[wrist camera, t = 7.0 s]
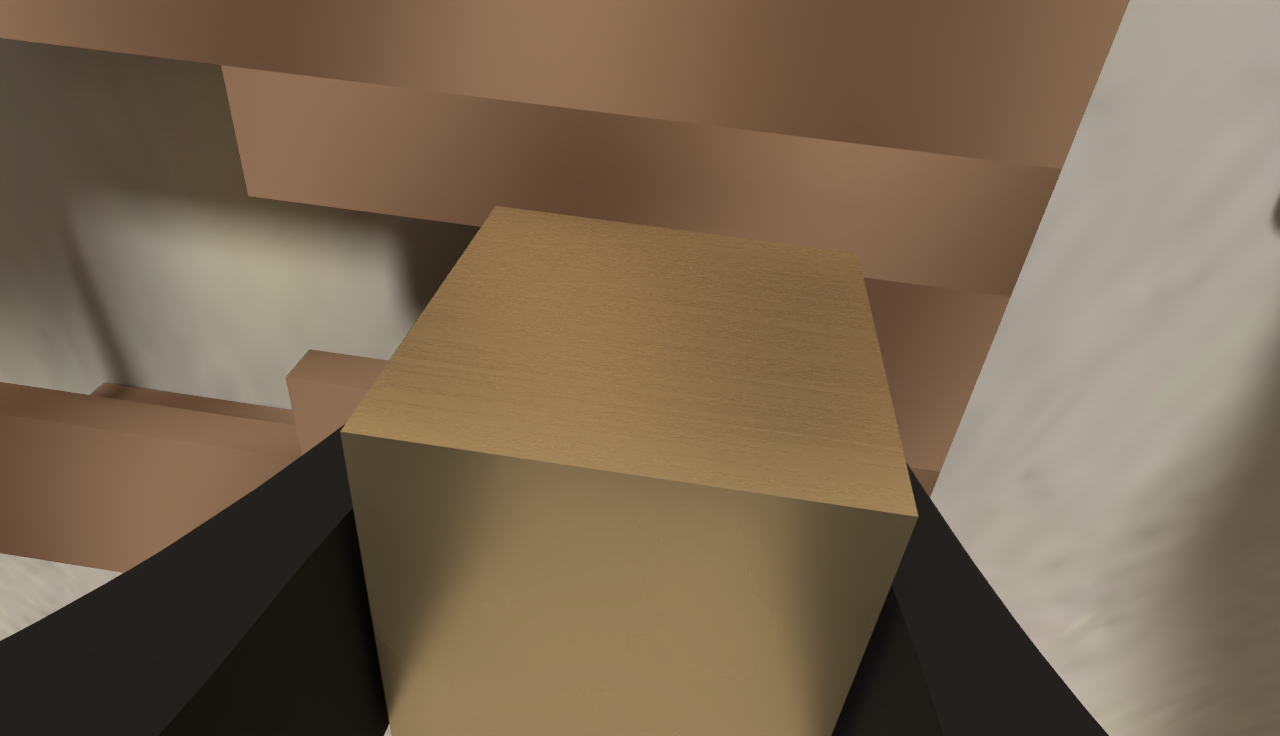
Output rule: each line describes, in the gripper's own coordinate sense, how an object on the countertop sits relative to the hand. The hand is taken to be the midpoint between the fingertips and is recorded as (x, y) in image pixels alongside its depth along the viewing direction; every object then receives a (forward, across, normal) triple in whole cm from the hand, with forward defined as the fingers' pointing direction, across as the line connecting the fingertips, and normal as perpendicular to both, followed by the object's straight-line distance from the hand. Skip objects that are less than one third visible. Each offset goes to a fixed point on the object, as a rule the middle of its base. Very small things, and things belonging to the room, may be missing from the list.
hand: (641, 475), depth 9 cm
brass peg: (+6, 0, 0) cm, 6 cm away
